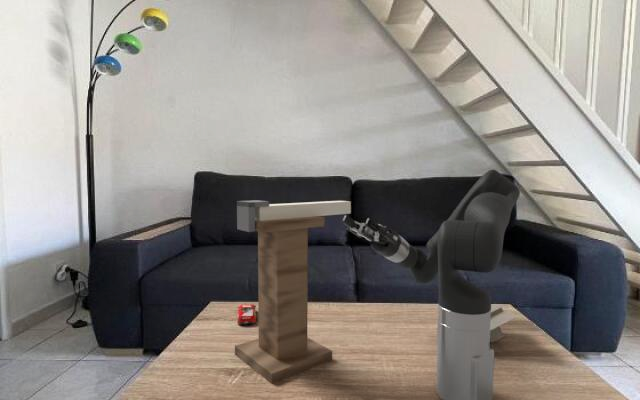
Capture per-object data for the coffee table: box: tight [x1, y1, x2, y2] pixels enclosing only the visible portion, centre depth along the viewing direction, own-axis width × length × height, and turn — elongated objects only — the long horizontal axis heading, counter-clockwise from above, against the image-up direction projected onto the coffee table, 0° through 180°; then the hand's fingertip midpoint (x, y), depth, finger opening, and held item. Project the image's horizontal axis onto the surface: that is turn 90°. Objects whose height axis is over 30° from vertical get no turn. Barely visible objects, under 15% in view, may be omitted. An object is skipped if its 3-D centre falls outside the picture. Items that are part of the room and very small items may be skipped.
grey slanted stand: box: [490, 303, 518, 344], centre depth 97 cm, size 16×9×15 cm
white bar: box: [236, 199, 352, 233], centre depth 89 cm, size 5×29×6 cm, turn 129°
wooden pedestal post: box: [234, 216, 333, 384], centre depth 88 cm, size 16×16×32 cm
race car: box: [237, 303, 257, 325], centre depth 113 cm, size 13×5×4 cm, turn 9°
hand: (355, 219), depth 101 cm, fingers open, 8 cm apart
